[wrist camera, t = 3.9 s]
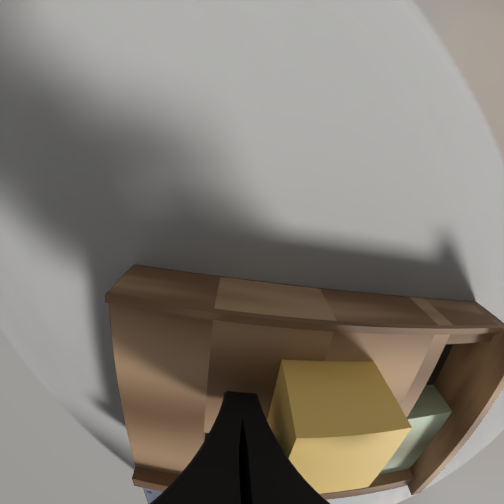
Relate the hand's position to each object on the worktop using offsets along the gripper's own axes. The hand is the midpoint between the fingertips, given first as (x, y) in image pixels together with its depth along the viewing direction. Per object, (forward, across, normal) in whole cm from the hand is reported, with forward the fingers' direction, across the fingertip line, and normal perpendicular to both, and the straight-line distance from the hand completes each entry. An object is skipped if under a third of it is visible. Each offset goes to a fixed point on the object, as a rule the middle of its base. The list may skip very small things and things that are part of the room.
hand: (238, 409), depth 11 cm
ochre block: (+1, -3, 0) cm, 4 cm away
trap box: (+4, -4, +3) cm, 6 cm away
